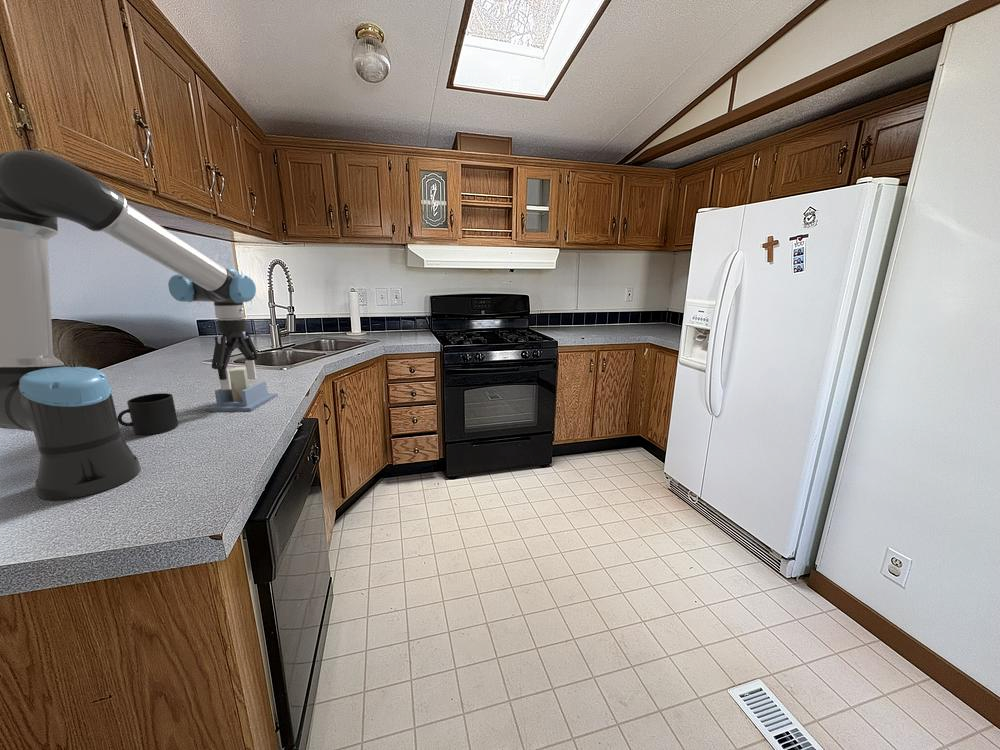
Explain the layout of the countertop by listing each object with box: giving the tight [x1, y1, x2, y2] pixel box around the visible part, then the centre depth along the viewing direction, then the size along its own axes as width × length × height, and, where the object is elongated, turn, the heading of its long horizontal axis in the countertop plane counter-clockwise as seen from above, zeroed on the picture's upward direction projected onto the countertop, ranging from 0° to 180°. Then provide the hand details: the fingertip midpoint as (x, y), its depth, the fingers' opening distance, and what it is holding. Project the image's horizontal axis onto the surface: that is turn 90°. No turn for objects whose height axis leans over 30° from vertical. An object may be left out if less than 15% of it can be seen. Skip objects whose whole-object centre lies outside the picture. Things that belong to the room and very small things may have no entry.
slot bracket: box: [205, 380, 279, 412], centre depth 133 cm, size 16×14×6 cm
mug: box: [117, 392, 179, 436], centre depth 109 cm, size 9×12×9 cm
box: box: [229, 366, 250, 402], centre depth 132 cm, size 5×4×11 cm
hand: (239, 383), depth 132 cm, fingers open, 13 cm apart
